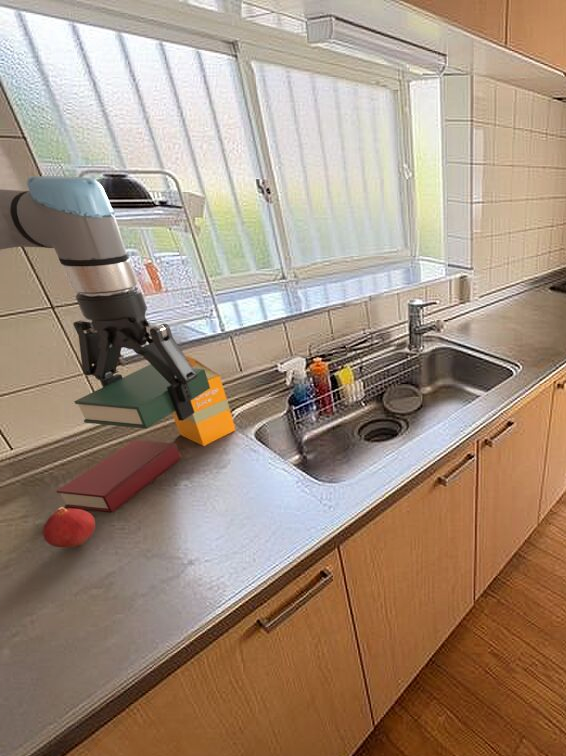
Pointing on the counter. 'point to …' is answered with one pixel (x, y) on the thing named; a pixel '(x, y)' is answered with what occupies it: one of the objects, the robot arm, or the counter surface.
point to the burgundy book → (119, 476)
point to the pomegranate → (68, 527)
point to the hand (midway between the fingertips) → (156, 413)
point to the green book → (136, 399)
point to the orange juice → (207, 411)
